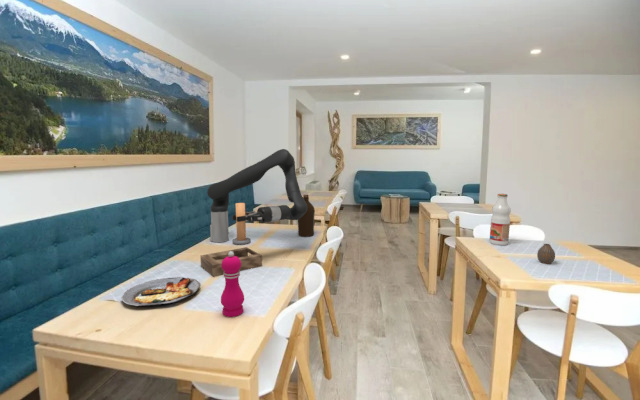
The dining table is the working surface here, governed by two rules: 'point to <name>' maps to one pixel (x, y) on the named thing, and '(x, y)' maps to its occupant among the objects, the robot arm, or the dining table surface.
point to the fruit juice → (500, 221)
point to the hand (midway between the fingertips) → (234, 218)
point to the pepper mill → (232, 287)
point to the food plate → (161, 291)
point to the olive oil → (307, 220)
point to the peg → (241, 227)
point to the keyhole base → (215, 259)
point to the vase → (546, 254)
